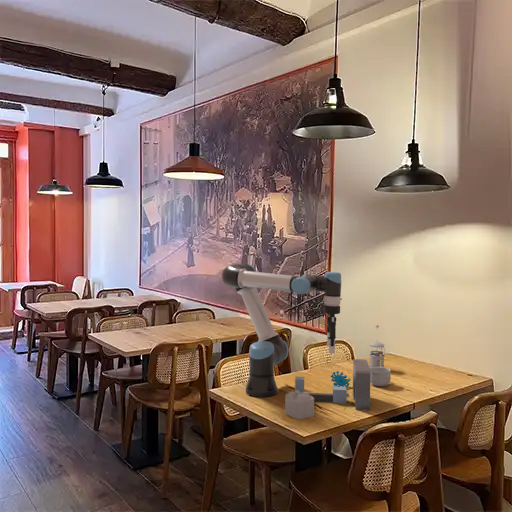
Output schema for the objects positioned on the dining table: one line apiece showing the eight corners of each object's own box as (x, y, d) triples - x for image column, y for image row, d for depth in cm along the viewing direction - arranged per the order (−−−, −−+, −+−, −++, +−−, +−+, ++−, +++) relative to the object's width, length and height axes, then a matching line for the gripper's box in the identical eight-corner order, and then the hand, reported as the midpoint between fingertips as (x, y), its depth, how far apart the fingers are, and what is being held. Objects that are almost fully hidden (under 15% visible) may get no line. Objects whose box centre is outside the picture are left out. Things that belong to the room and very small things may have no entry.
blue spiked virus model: (335, 388, 238) (329, 369, 244) (329, 394, 241) (324, 376, 248) (354, 388, 242) (348, 370, 248) (348, 394, 245) (343, 377, 252)
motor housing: (355, 409, 212) (355, 370, 212) (352, 394, 232) (352, 359, 232) (370, 410, 211) (370, 371, 211) (366, 395, 232) (366, 359, 231)
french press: (364, 368, 279) (364, 325, 278) (376, 365, 287) (376, 322, 286) (379, 372, 272) (379, 327, 271) (390, 368, 280) (391, 324, 279)
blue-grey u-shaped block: (295, 401, 223) (295, 379, 223) (295, 397, 228) (295, 376, 228) (349, 403, 220) (349, 381, 220) (348, 400, 225) (348, 378, 225)
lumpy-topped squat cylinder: (296, 420, 200) (297, 399, 200) (279, 410, 211) (279, 390, 211) (317, 415, 205) (317, 395, 205) (299, 406, 216) (299, 386, 216)
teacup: (386, 389, 241) (386, 373, 241) (365, 385, 247) (365, 370, 247) (395, 382, 253) (395, 366, 253) (374, 379, 259) (374, 364, 259)
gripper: (342, 309, 220) (341, 356, 221) (338, 301, 244) (336, 344, 245) (325, 308, 220) (324, 355, 221) (322, 301, 245) (321, 343, 246)
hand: (330, 349), depth 233 cm, fingers open, 13 cm apart
